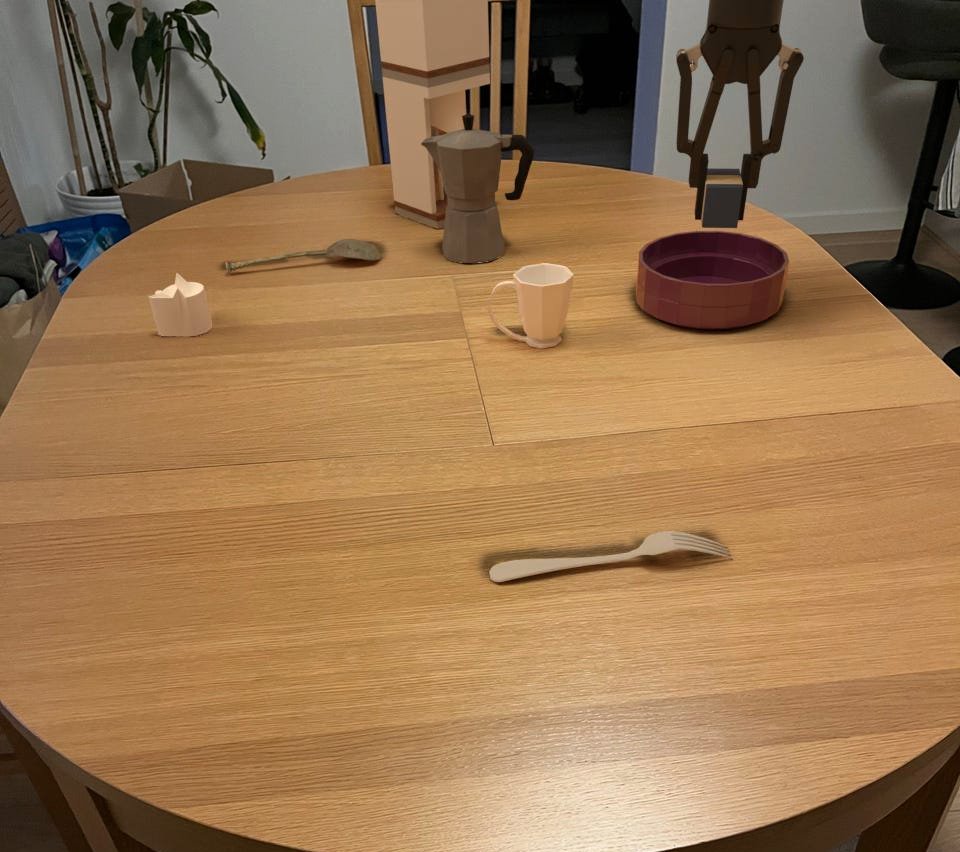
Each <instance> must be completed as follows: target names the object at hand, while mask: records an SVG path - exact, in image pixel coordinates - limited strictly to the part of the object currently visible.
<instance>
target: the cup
mask: <svg viewBox="0 0 960 852" xmlns="http://www.w3.org/2000/svg"><path fill="white" fill-rule="evenodd" d="M512 277H513V280H505V281H501V282H498V283H497V284H496V285H495V287H494V288H493V289H492V290H491V293H490V298H489V302H488V315H489V319H490V321H491V322H492V324H493V325H494V326H495V327H496V328H497V329H499V330H500V331H501V332H502V333H504V334H505V335H507V336H508V337H510V338H511V339H514V340H516V341H518V342H524V343H526V344H527V345H528V346H529V347H532V348H537V349H543V350H544V349H548V348H553V347H554V348H555V347H557V346H558V345H559V344H560V343H561V342H562V336H561V335H560V334H561V333H562V332H563V331H564V327H565V323H566V320H567V316H568V313H569V306H570V300H571V294H572V287H573V284H574V277H575V273H574V272H572V270H570V269H569V268H568V267H567V266H566V265H561V264H555V263H548V262H542V263H541V262H540V263H535V264H534V263H533V264H529V265H528V264H527V265H523V266H522V267H521V268H519V269H518V270H516V271H515V272H514V273H513V274H512ZM501 288H506V289H507V288H508V289H512V290H515V293H516V294H515V295H516V300H517V306H518V313H519V317H520V321H521V324H522V328H523V331H524V333H525V334H526V335H525V336H524V335H519V334H517V333H515V332H513V331H512V330H510V329H509V328H507V327H506V326H504V325H503V324H502V323H500V322H499V321H498V319H497V318H496V317H495V316H494V313H493V310H492V307H493V306H492V305H493V299H494V296H495V294H496V293H497V292H498V291H499V290H500V289H501Z"/></svg>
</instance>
